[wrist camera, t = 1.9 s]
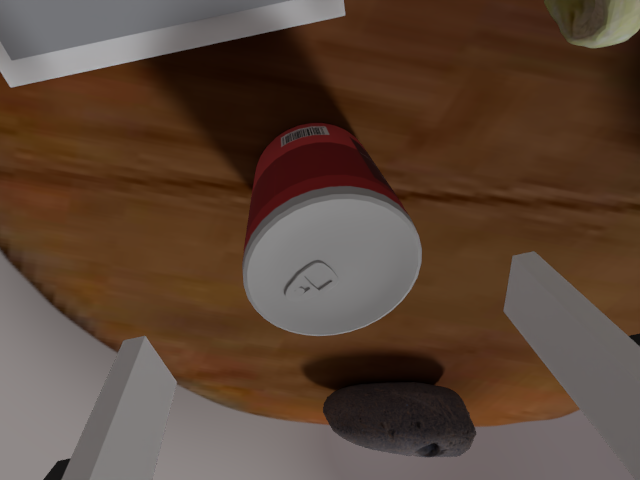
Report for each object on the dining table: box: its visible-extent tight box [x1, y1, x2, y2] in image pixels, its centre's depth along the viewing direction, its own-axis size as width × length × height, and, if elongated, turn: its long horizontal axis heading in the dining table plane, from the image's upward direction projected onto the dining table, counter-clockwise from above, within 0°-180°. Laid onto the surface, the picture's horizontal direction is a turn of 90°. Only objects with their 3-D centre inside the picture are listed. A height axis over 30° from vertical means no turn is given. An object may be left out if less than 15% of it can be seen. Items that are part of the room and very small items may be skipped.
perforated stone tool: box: [323, 382, 476, 457], centre depth 36 cm, size 15×5×7 cm, turn 78°
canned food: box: [242, 123, 422, 336], centre depth 20 cm, size 8×8×11 cm
